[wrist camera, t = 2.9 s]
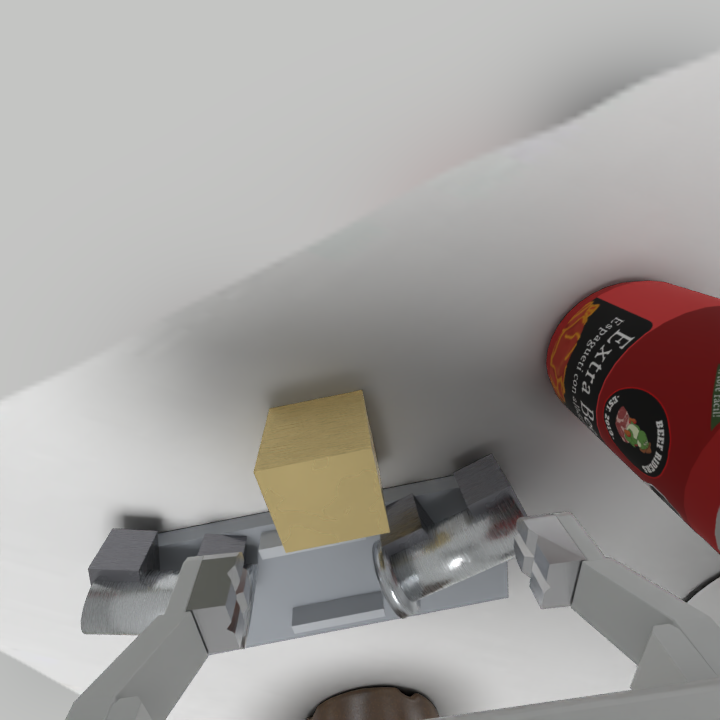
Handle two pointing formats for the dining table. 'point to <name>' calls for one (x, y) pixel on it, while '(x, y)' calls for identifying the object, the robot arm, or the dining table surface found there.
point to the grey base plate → (330, 572)
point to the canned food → (649, 388)
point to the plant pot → (375, 706)
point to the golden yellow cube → (321, 472)
